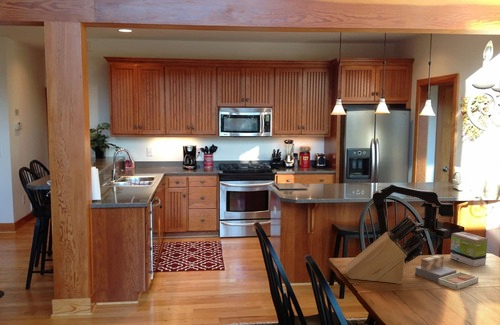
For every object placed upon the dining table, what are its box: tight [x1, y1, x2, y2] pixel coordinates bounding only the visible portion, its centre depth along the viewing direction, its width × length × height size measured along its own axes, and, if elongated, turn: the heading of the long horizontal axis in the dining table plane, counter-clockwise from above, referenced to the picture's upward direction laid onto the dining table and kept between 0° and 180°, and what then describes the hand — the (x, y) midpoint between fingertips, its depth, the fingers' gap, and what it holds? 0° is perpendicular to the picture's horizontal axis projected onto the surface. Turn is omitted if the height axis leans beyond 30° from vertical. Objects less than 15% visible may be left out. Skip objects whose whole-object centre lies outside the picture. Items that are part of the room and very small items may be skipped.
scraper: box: [420, 254, 445, 271], centre depth 207 cm, size 14×3×5 cm, turn 124°
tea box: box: [449, 231, 488, 268], centre depth 228 cm, size 15×10×15 cm, turn 25°
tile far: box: [457, 275, 474, 281], centre depth 197 cm, size 5×5×2 cm
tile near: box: [448, 278, 464, 284], centre depth 193 cm, size 5×5×2 cm
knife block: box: [345, 215, 427, 285], centre depth 198 cm, size 11×35×31 cm, turn 76°
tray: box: [437, 271, 479, 291], centre depth 196 cm, size 18×9×2 cm, turn 123°
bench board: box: [414, 265, 457, 283], centre depth 205 cm, size 14×13×4 cm
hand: (428, 246), depth 210 cm, fingers open, 9 cm apart
